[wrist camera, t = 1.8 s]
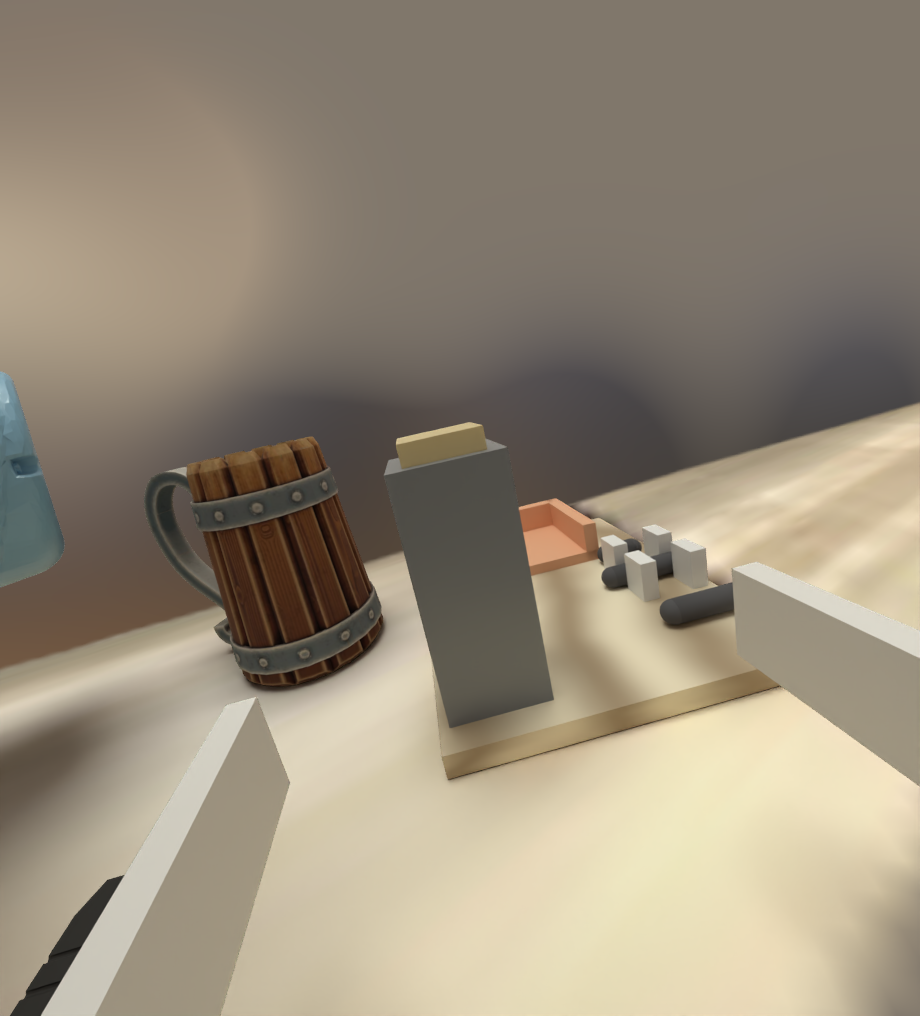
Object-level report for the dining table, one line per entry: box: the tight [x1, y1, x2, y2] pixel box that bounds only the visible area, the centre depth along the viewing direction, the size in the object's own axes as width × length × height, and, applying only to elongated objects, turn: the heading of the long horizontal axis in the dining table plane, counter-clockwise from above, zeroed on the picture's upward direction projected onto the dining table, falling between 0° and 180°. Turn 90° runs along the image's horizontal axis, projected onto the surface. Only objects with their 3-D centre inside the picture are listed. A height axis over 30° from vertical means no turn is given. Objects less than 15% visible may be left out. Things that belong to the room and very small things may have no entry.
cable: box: [597, 538, 734, 625], centre depth 28 cm, size 8×11×1 cm
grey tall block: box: [384, 422, 554, 728], centre depth 21 cm, size 5×5×13 cm
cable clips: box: [600, 524, 708, 602], centre depth 29 cm, size 4×6×2 cm
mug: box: [144, 437, 383, 687], centre depth 31 cm, size 16×11×15 cm
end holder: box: [519, 498, 599, 576], centre depth 37 cm, size 10×9×3 cm
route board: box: [431, 518, 780, 779], centre depth 31 cm, size 18×24×1 cm
